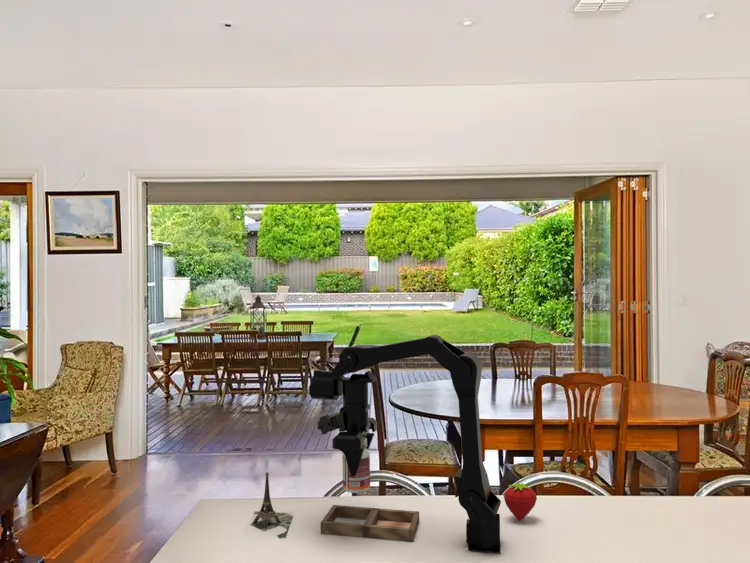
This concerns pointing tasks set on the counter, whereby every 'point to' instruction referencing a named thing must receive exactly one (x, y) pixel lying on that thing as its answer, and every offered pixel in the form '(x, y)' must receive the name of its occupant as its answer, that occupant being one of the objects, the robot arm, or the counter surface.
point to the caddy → (372, 523)
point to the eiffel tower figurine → (271, 515)
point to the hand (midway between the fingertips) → (356, 470)
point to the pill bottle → (357, 474)
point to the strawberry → (520, 500)
